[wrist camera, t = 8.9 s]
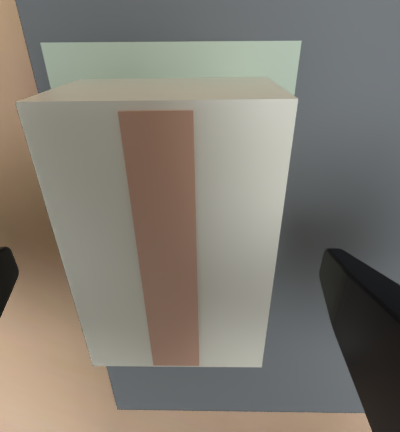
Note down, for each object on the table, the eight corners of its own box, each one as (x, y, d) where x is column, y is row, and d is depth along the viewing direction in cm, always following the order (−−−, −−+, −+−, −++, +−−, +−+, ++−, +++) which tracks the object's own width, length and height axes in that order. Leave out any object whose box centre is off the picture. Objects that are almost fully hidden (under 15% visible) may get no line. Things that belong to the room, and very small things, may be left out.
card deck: (266, 76, 10) (299, 99, 6) (248, 288, 14) (262, 369, 11) (80, 79, 10) (12, 102, 7) (119, 287, 15) (91, 368, 11)
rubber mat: (399, 407, 20) (403, 415, 20) (118, 403, 20) (116, 410, 20) (638, -23, 9) (660, -25, 9) (18, -15, 9) (8, -18, 9)
